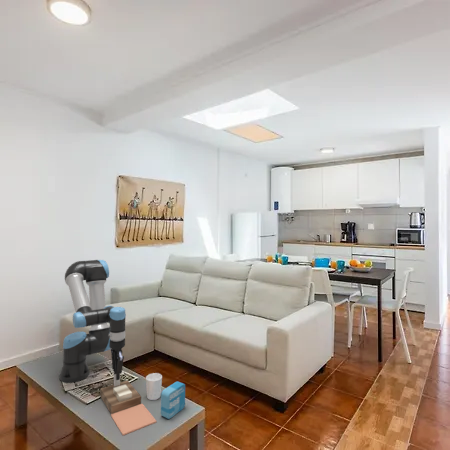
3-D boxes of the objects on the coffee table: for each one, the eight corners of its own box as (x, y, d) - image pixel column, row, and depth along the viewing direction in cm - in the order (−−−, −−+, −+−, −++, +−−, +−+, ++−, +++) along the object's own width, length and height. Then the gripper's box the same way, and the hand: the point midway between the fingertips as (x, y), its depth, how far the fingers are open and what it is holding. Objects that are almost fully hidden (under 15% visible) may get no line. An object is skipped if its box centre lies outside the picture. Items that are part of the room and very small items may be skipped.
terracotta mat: (110, 415, 146) (110, 414, 146) (142, 404, 155) (142, 403, 155) (123, 435, 133) (123, 434, 133) (156, 422, 142) (156, 421, 142)
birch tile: (113, 392, 157) (113, 387, 157) (125, 389, 161) (125, 384, 161) (119, 401, 150) (119, 396, 150) (131, 397, 154) (131, 392, 154)
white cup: (153, 402, 157) (154, 382, 156) (142, 397, 161) (142, 378, 161) (164, 395, 163) (165, 376, 163) (153, 390, 168) (154, 371, 167)
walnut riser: (100, 396, 161) (100, 388, 161) (127, 387, 169) (127, 380, 169) (111, 414, 147) (111, 406, 146) (140, 404, 155) (141, 396, 155)
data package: (167, 420, 144) (168, 394, 143) (160, 417, 146) (160, 391, 146) (185, 407, 154) (185, 382, 153) (177, 404, 156) (178, 380, 156)
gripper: (105, 336, 164) (105, 381, 165) (114, 344, 154) (113, 393, 155) (120, 333, 169) (119, 377, 169) (129, 341, 158) (128, 388, 159)
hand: (116, 384), depth 162 cm, fingers closed
